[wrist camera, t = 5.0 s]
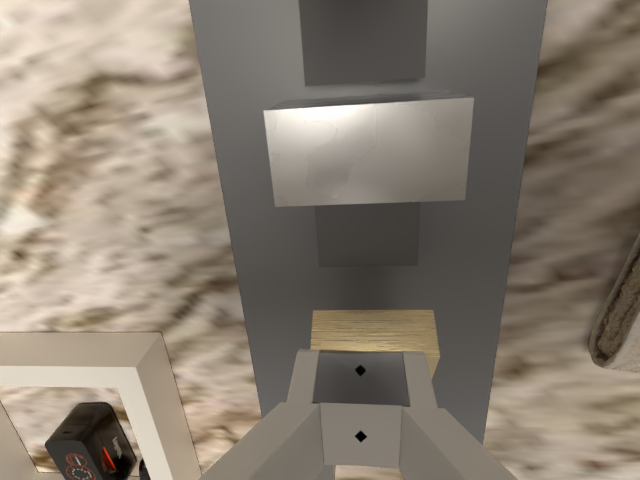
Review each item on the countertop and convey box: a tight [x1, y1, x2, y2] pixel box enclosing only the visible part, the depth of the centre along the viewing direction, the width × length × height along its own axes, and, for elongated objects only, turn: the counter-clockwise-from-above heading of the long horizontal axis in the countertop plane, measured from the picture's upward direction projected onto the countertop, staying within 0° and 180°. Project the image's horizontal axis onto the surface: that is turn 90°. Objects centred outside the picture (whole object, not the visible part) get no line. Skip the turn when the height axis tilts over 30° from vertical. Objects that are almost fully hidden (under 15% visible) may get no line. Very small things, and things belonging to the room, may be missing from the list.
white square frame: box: [0, 332, 202, 480], centre depth 26 cm, size 15×15×3 cm
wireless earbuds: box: [45, 403, 151, 480], centre depth 27 cm, size 5×7×3 cm, turn 8°
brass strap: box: [311, 310, 440, 380], centre depth 14 cm, size 3×13×2 cm, turn 4°
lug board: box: [189, 0, 548, 480], centre depth 15 cm, size 12×34×6 cm, turn 4°
